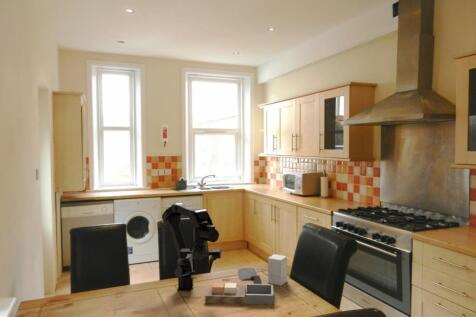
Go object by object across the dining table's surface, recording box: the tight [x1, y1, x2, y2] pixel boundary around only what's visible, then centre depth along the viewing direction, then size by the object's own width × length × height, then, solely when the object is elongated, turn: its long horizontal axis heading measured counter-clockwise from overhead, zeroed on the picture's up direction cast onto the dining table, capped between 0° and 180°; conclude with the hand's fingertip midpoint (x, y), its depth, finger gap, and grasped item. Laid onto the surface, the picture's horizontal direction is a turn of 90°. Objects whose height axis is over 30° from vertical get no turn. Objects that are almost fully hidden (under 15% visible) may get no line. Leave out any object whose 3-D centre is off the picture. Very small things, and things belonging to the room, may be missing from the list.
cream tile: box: [224, 282, 238, 293], centre depth 161 cm, size 5×5×2 cm
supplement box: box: [267, 253, 288, 287], centre depth 178 cm, size 7×7×13 cm
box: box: [245, 283, 275, 306], centre depth 160 cm, size 12×12×4 cm
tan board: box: [204, 284, 247, 305], centre depth 161 cm, size 17×12×3 cm
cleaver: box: [237, 267, 262, 284], centre depth 183 cm, size 30×10×2 cm, turn 9°
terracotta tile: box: [212, 282, 226, 293], centre depth 161 cm, size 5×5×2 cm
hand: (200, 272), depth 161 cm, fingers open, 8 cm apart
